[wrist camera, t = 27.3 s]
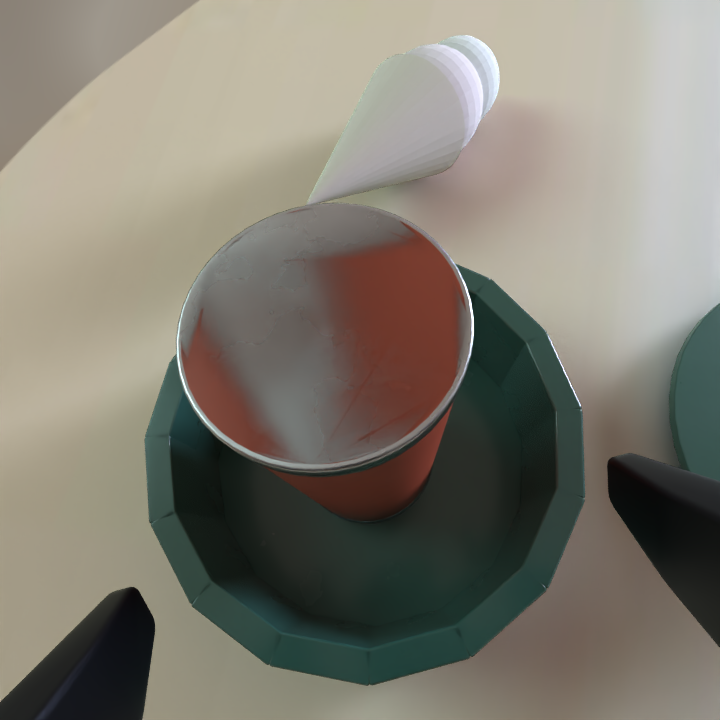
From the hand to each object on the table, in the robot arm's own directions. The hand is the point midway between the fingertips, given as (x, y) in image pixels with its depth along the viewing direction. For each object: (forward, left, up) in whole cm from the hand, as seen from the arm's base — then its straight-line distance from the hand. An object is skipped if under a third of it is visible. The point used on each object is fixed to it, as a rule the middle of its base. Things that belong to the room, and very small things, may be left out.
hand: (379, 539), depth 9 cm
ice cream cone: (+19, -6, -12) cm, 23 cm away
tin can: (+4, 0, -11) cm, 12 cm away
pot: (+4, 0, -11) cm, 12 cm away
